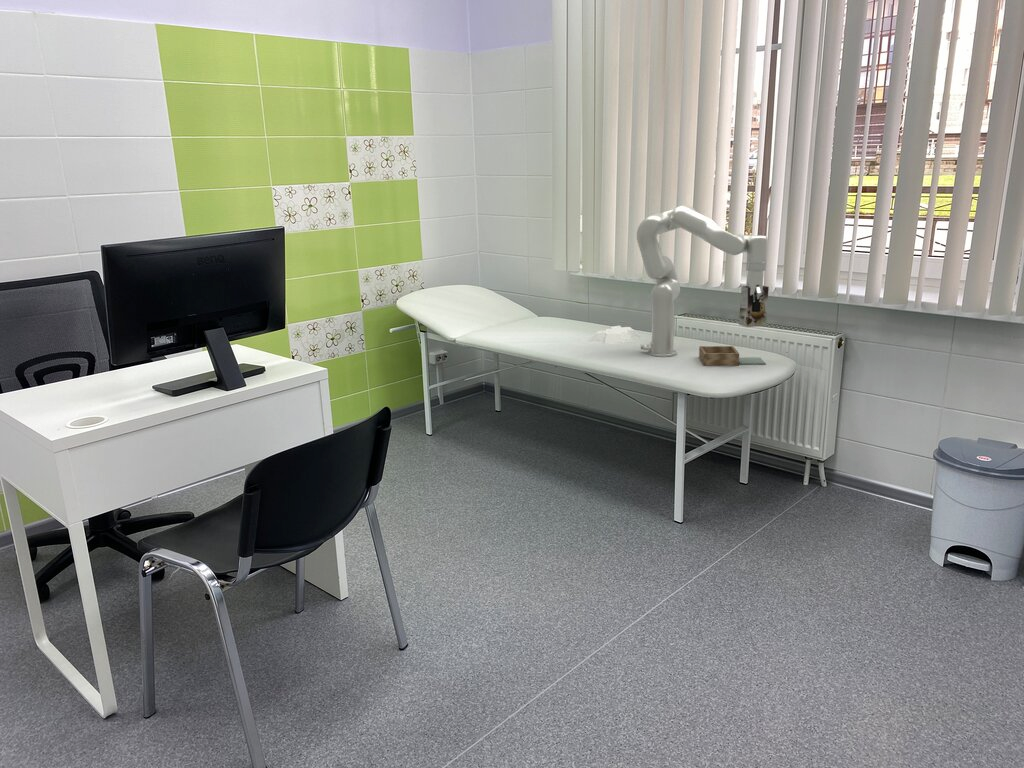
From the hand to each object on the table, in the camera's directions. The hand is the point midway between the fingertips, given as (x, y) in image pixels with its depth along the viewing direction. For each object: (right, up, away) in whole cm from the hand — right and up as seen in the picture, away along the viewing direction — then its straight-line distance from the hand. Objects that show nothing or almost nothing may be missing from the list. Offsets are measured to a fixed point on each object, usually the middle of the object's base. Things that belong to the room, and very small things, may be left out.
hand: (753, 309), depth 308 cm
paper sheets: (-49, -10, +53) cm, 73 cm away
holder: (-12, -21, +8) cm, 25 cm away
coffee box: (0, -6, +2) cm, 7 cm away
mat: (+1, -21, +6) cm, 22 cm away
